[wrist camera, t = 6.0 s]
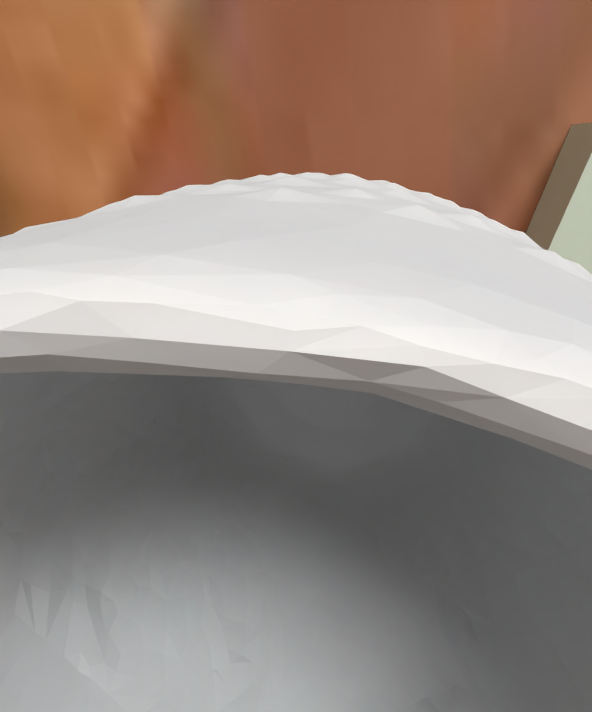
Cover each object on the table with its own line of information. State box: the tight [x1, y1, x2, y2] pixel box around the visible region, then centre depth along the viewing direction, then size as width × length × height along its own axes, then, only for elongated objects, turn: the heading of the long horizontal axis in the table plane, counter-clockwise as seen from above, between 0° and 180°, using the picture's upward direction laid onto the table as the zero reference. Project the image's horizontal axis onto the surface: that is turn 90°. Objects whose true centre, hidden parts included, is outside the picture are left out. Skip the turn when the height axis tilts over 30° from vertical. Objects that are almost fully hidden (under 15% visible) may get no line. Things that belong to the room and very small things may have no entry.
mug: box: [0, 172, 592, 712], centre depth 10 cm, size 15×11×13 cm
